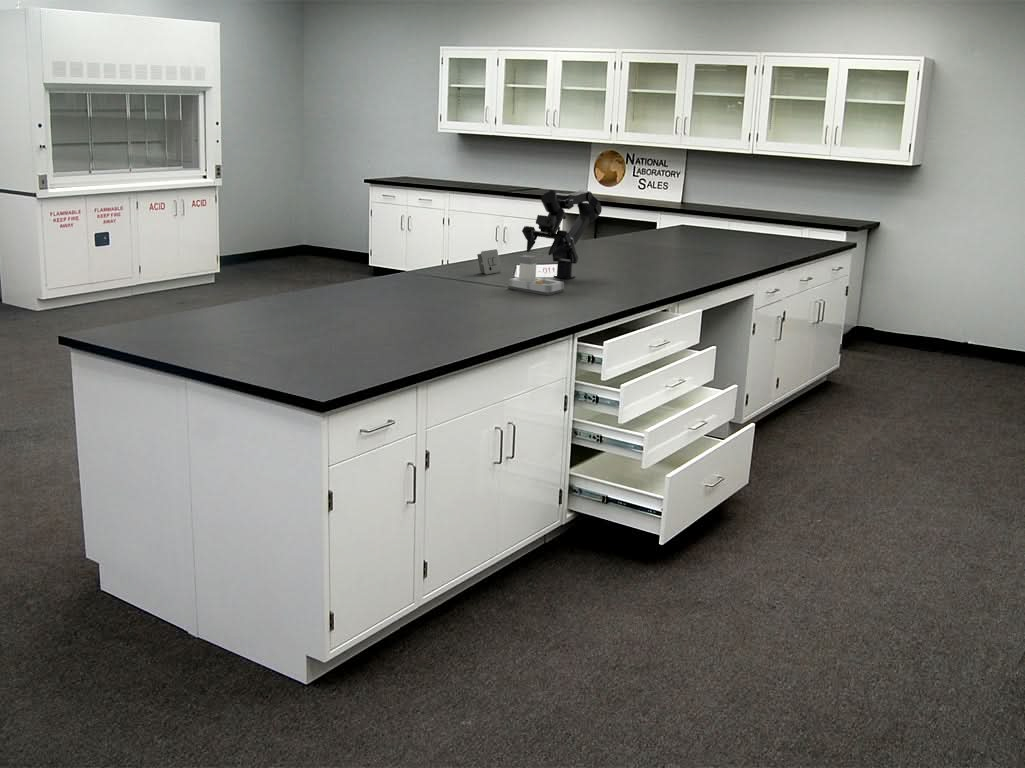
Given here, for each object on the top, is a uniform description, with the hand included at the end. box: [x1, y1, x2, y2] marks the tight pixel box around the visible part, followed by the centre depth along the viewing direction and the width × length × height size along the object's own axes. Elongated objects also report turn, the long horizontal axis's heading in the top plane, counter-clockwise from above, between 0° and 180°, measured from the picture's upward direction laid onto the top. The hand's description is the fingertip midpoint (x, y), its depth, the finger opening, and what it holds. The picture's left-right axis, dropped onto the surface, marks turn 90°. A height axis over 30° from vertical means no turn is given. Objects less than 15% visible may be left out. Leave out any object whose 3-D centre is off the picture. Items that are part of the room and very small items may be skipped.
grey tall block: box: [518, 254, 537, 281], centre depth 375 cm, size 4×4×11 cm
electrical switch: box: [477, 248, 502, 275], centre depth 404 cm, size 9×5×9 cm, turn 141°
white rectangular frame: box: [508, 276, 565, 296], centre depth 374 cm, size 10×18×4 cm, turn 56°
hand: (538, 253), depth 379 cm, fingers open, 9 cm apart
